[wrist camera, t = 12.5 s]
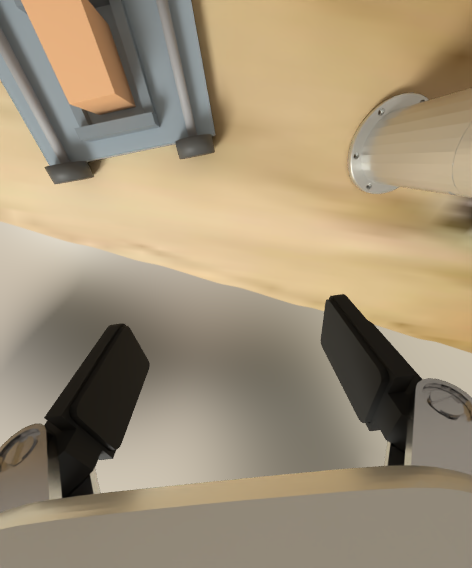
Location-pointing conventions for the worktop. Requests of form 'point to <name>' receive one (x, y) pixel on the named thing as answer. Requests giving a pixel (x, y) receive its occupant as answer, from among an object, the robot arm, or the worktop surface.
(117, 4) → the chassis
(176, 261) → the worktop surface
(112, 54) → the block
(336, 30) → the worktop surface
